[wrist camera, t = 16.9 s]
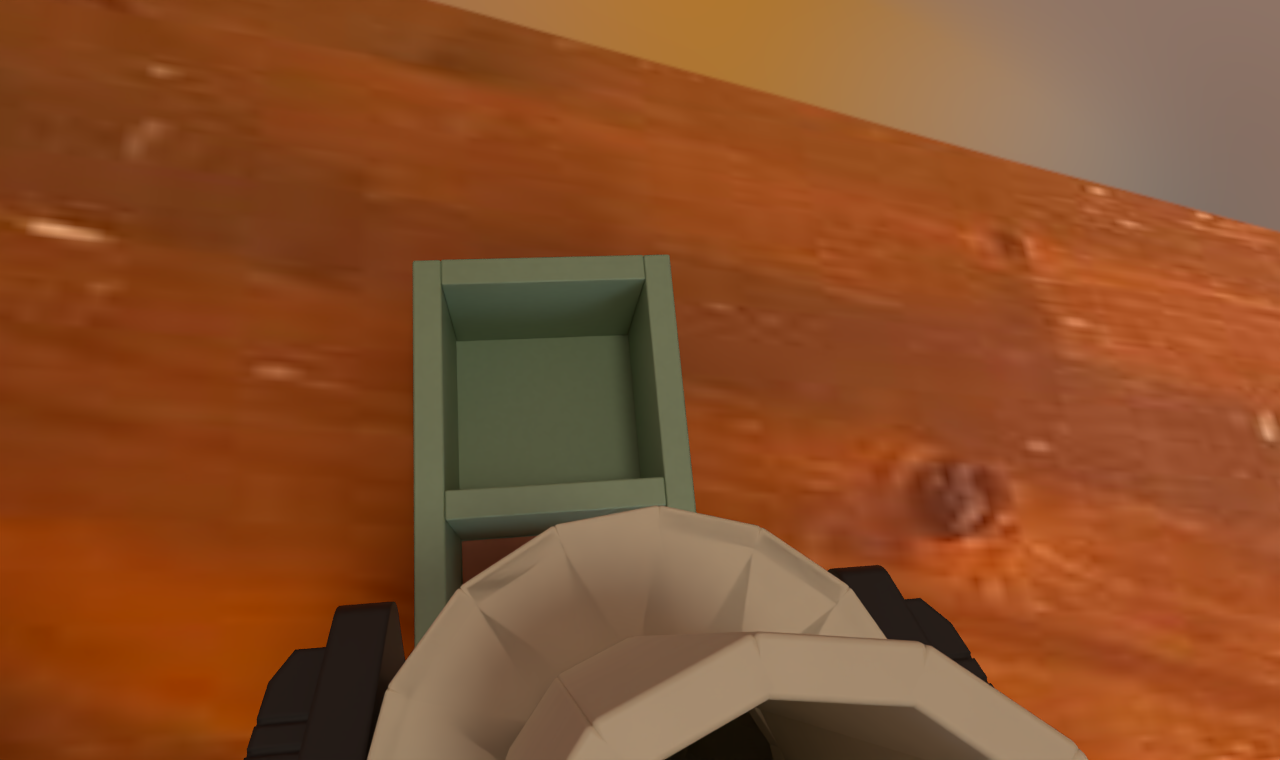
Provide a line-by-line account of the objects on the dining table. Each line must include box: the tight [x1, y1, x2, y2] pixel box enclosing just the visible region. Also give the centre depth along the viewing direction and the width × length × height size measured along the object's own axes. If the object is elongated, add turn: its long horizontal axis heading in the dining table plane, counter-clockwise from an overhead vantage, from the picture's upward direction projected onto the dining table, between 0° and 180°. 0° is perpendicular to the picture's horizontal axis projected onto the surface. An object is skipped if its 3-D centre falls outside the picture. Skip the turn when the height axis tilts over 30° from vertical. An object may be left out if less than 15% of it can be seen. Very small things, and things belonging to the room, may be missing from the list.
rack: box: [413, 255, 696, 647], centre depth 31 cm, size 9×18×7 cm, turn 5°
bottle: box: [367, 505, 1088, 760], centre depth 12 cm, size 6×6×18 cm
